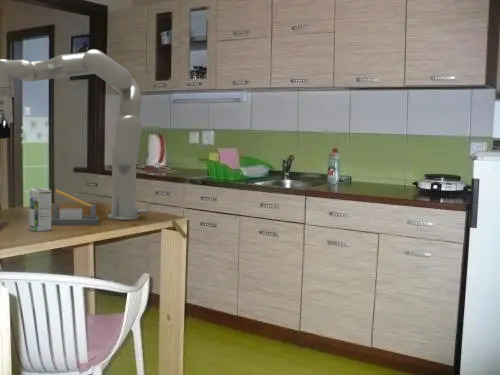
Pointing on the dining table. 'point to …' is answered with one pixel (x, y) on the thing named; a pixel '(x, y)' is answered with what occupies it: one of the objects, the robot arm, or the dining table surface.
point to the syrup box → (40, 209)
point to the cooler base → (74, 216)
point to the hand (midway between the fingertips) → (3, 138)
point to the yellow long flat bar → (73, 198)
